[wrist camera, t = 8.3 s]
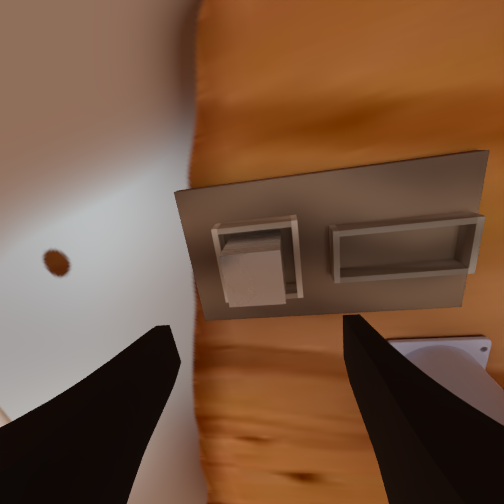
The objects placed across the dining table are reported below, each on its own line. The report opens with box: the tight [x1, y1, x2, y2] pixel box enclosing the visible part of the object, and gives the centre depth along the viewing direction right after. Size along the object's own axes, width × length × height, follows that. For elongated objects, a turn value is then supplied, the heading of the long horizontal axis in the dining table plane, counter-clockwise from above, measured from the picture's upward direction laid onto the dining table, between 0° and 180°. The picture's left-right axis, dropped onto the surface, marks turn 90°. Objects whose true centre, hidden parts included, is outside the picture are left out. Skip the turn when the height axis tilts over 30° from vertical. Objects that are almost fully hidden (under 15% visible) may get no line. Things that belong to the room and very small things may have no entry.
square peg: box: [219, 228, 286, 307], centre depth 17 cm, size 4×4×4 cm
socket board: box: [174, 150, 489, 321], centre depth 18 cm, size 11×20×2 cm, turn 98°
